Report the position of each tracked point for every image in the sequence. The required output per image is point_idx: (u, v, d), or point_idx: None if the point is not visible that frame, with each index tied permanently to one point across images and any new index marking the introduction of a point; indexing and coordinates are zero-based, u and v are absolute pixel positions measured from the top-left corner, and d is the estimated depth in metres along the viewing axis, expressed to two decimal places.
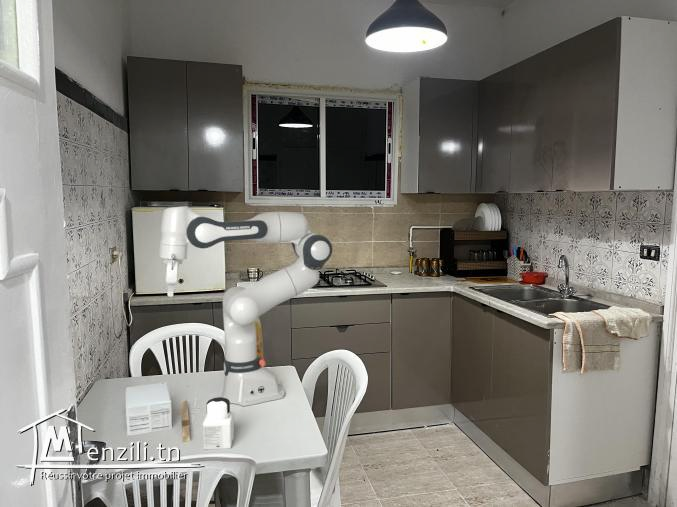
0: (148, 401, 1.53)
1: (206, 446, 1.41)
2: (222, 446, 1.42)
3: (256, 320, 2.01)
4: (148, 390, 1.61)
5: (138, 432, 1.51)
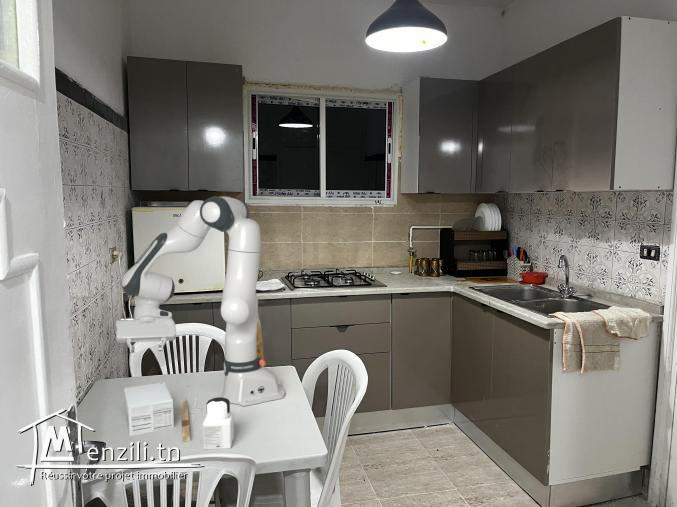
0: (150, 401, 1.53)
1: (206, 446, 1.41)
2: (222, 446, 1.42)
3: None
4: (148, 390, 1.61)
5: (140, 432, 1.51)
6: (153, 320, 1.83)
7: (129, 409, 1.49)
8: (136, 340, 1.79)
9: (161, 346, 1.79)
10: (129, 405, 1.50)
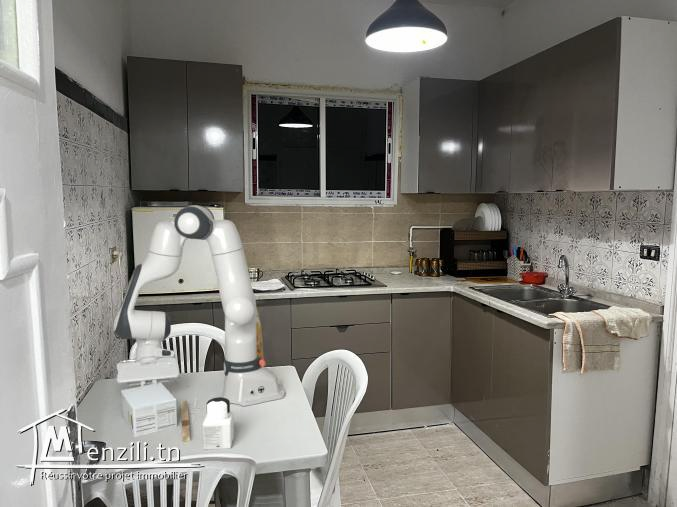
0: (153, 401, 1.53)
1: (206, 446, 1.41)
2: (222, 446, 1.42)
3: (256, 320, 2.01)
4: (147, 391, 1.61)
5: (145, 432, 1.51)
6: (155, 360, 1.74)
7: (133, 410, 1.48)
8: (138, 383, 1.71)
9: None
10: (133, 406, 1.49)
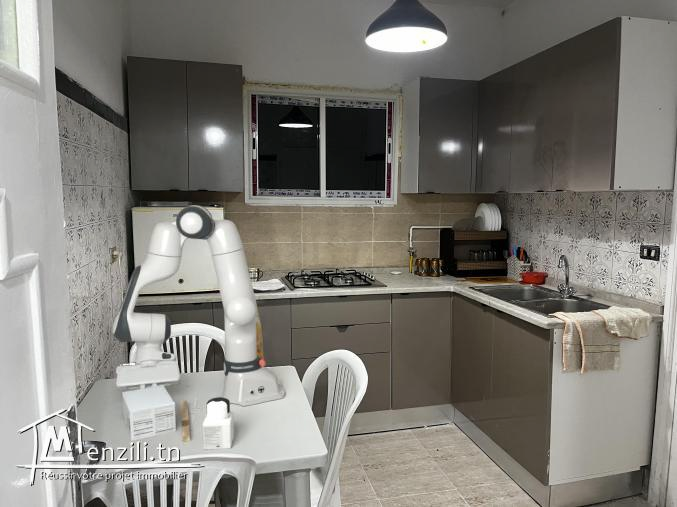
0: (151, 404, 1.50)
1: (206, 446, 1.41)
2: (222, 446, 1.42)
3: (256, 320, 2.01)
4: (148, 394, 1.58)
5: (142, 436, 1.48)
6: (155, 364, 1.71)
7: (131, 413, 1.46)
8: (138, 386, 1.68)
9: None
10: (130, 409, 1.47)
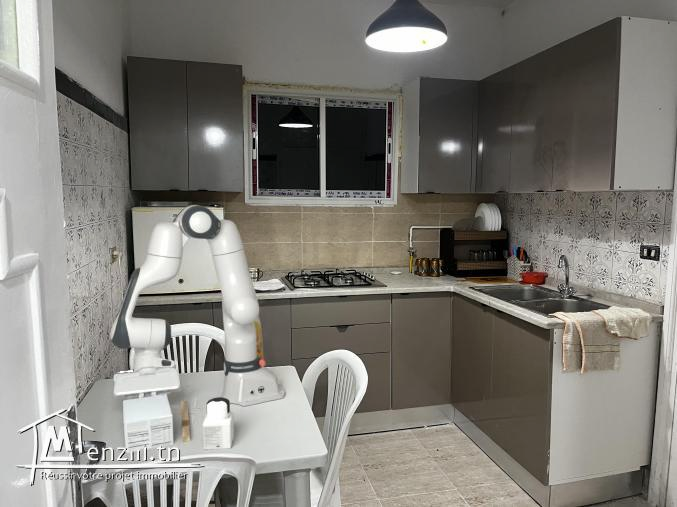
0: (148, 416, 1.43)
1: (206, 446, 1.41)
2: (222, 446, 1.42)
3: (256, 320, 2.01)
4: (148, 403, 1.51)
5: (137, 449, 1.41)
6: (154, 371, 1.64)
7: (125, 424, 1.39)
8: (136, 395, 1.61)
9: None
10: (125, 420, 1.40)
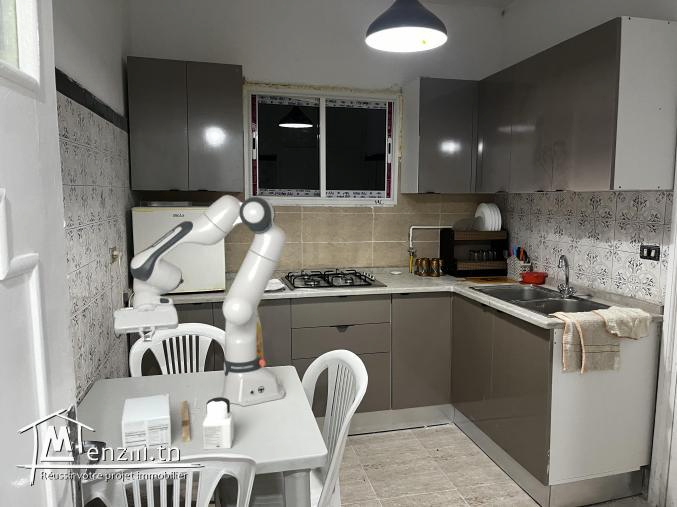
0: (146, 416, 1.42)
1: (206, 446, 1.41)
2: (222, 446, 1.42)
3: None
4: (148, 403, 1.51)
5: (134, 449, 1.41)
6: (153, 308, 1.71)
7: (122, 424, 1.39)
8: (136, 330, 1.68)
9: (149, 336, 1.65)
10: (123, 420, 1.40)
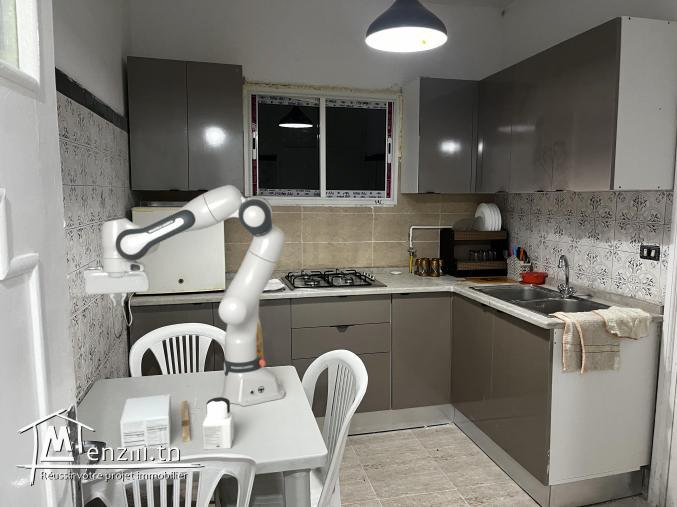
0: (144, 416, 1.42)
1: (206, 446, 1.41)
2: (222, 446, 1.42)
3: None
4: (149, 403, 1.51)
5: (133, 449, 1.41)
6: (124, 273, 1.69)
7: (121, 424, 1.39)
8: None
9: (121, 302, 1.71)
10: (122, 419, 1.40)
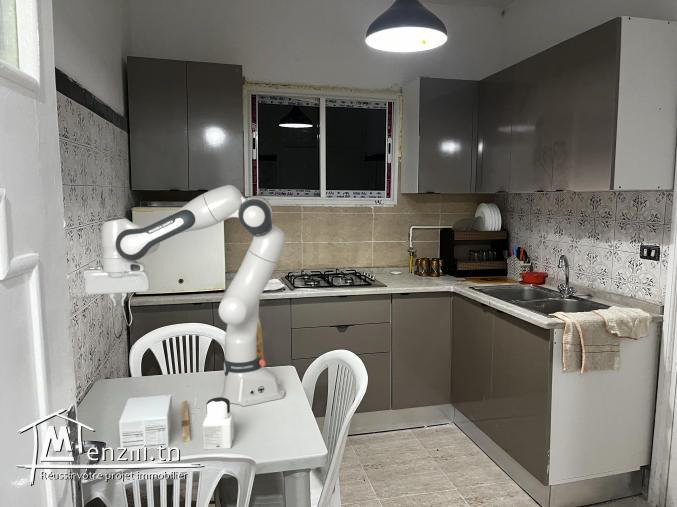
0: (143, 416, 1.42)
1: (206, 446, 1.41)
2: (222, 446, 1.42)
3: None
4: (149, 403, 1.51)
5: (132, 449, 1.41)
6: (124, 273, 1.69)
7: (120, 424, 1.39)
8: None
9: (121, 302, 1.71)
10: (121, 419, 1.41)
